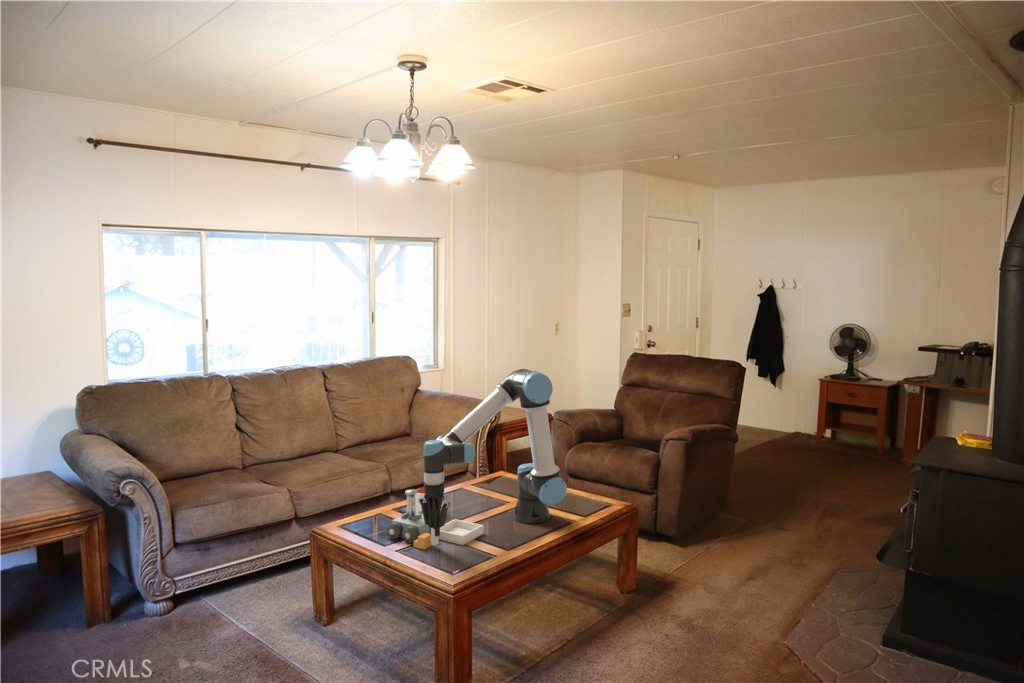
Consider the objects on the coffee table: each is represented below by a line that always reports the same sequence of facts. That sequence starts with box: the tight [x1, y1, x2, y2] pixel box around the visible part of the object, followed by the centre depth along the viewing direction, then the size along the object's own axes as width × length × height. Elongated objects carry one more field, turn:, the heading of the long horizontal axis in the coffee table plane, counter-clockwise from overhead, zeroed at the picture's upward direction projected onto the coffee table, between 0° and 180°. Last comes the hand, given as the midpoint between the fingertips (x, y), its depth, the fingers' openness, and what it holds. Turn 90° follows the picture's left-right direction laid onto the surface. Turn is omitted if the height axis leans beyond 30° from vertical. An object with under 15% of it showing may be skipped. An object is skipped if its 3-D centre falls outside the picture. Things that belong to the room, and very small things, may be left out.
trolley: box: [386, 511, 430, 544], centre depth 267 cm, size 14×19×8 cm
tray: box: [439, 518, 485, 546], centre depth 265 cm, size 14×14×3 cm
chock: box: [413, 533, 433, 550], centre depth 255 cm, size 5×5×4 cm
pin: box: [404, 488, 417, 520], centre depth 268 cm, size 5×5×11 cm
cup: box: [415, 486, 425, 512], centre depth 292 cm, size 10×10×10 cm
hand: (434, 544), depth 253 cm, fingers closed
